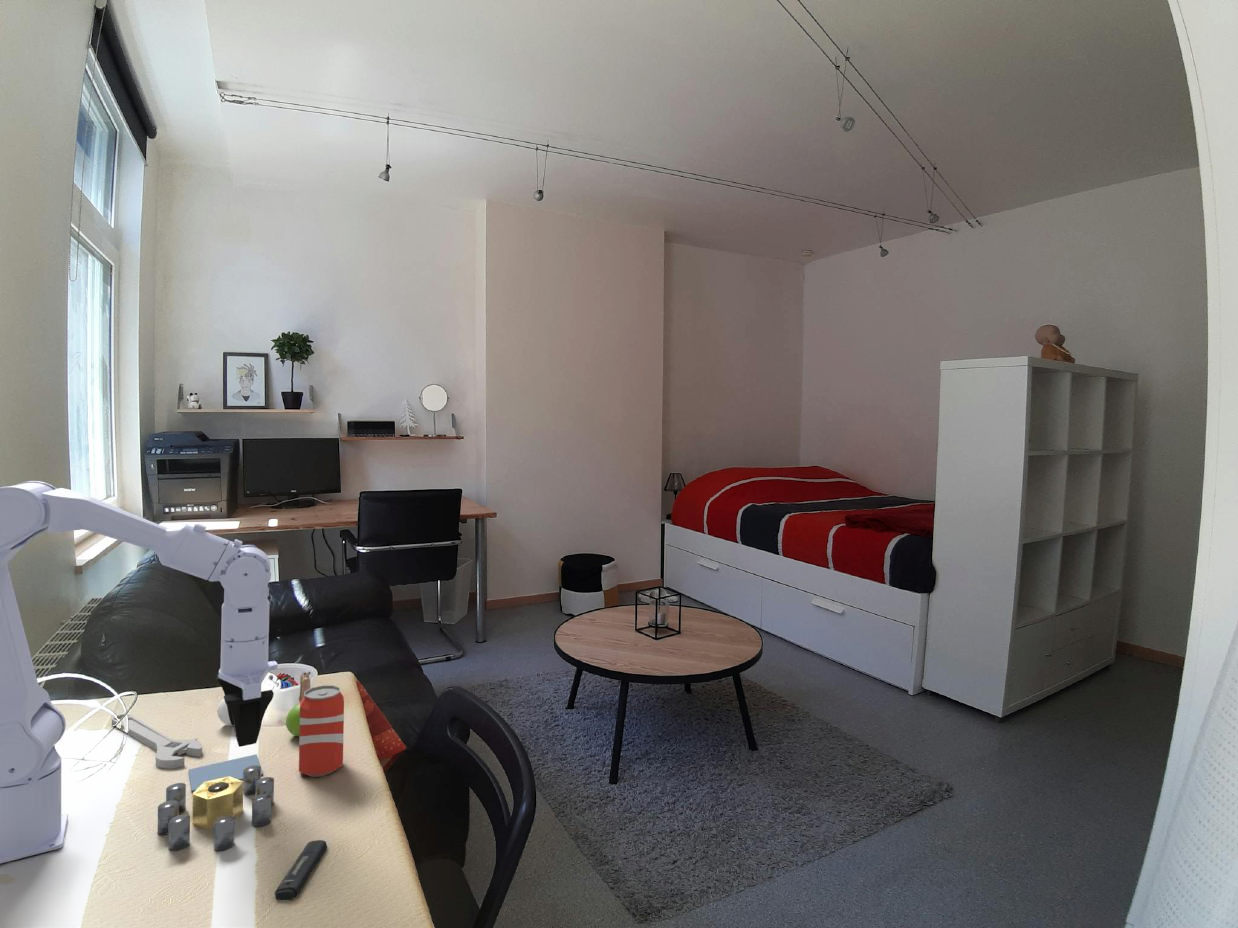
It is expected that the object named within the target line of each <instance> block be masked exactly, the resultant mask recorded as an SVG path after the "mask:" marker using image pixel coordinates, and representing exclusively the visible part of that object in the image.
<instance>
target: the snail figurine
mask: <svg viewBox="0 0 1238 928" xmlns="http://www.w3.org/2000/svg"><path fill="white" fill-rule="evenodd" d="M311 673H312V672H311V671H307V672H306V671H304V672H302V674H301V675H300V679H299V680H300V681H299V683H300V685H299V687H300V689H299V698H298V701H299V703H298V704H296V705H294V706H293V707H292V708H291V709H290V710H289V712H288V713H287V715H286V719H285V727H286V729H287V731H288V732H289V733H290V734H291V735H293V736H295V737H299V733H300V702H301V700H302V699H303V697H304V692H305V691H307V690H309V689H310V688H311V679H310V675H311Z"/></svg>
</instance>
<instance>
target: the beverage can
mask: <svg viewBox="0 0 1238 928" xmlns="http://www.w3.org/2000/svg"><path fill="white" fill-rule="evenodd" d="M299 704H300V733H299V736H298V737H299V740H298V743H299V745H298V747H299V748H298V750H299V751H298V772H301V773H302V774H305V775H306V776H309V777H324V776H326V775H329V774H332V773H333V772H335V771H337V769H339V768H340V767H341V766H342V765H344V724H345V723H344V721H345V720H344V719H345V718H344V717H345V697H344V695H343V694H342V692H341V687H339V686H336V685H329V684H328V685H318V686H314V687H310V689H309V690H307V691H305V692H304V697H303V699H302V700H301V702H299Z"/></svg>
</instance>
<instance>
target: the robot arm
mask: <svg viewBox="0 0 1238 928" xmlns="http://www.w3.org/2000/svg"><path fill="white" fill-rule="evenodd" d="M206 529H207V527H206V526H205V525H204V524H200V523H196V524H194V526H192V525H189V524H187V523H186V524H183V523H182V524H180V525H177V526H174V527H172V528H171V527H170V528H169V527H166V526H163V525H161V524H159V523H157V522H153V521H151V520H148V519H145V518H143V517H141V516H140V515H136V514H133V513H132V512H129V511H126V510H124V509H122V508H119V507H116V506H115V505H111V504H109V503H107V502H105V501H101V500H99V499H97V498H94V497H92V496H90V495H87V494H84V493H81V492H78V491H76V490H72V489H68V488H63V487H59V488H57V487H56V486H54V485H52V484H50V483H47V482H43V481H39V480H29V481H28V480H27V481H23V482H20V483H17V484H15V485H10V486H9V485H8V486H1V487H0V864H3V863H8V862H11V861H15V860H19V859H24V858H27V857H31V856H35V855H39V854H42V853H46V852H50V851H53V850H57V849H60V848H62V847H63V845H64V842H65V841H64V840H65V835H66V829H67V824H68V823H67V822H68V818H69V817H68V816H69V814H66V813H62V757H61V756H60V754H59V753H58V751H57V749H56V748H55V747H56V744H58V742H59V741H60V740H61V739H62V737H63V736H64V734H65V730H66V726H67V724H66V723H67V722H66V718H65V716H64V714H63V713H62V712H61V711H60V710H59V709H58V708H57V707H55V706H54V704H53V703H52V701H51V699H50V696H49V692H48V691H47V690H46V689H44V688H43V687H42V686H41V685H40V684H39V682H38V678H37V674H36V670H35V667H34V666H35V665H34V663H33V659H32V656H31V651H30V647H29V643H28V639H27V636H26V632H25V628H24V624H23V621H22V616H21V613H20V609H19V605H18V601H17V598H16V593H15V590H14V587H13V581H12V579H11V574H10V570H9V567H8V564H9V562H10V561H11V560H12V559H13V558H14V557H15V556H16V555H17V554H18V552H20V551H21V550H22V548H24V547H25V545H26V544H27V543H28V542H29V541H30V540H31V539H33V538H34V537H36V536H37V535H40V534H41V533H43V532H45V531H46V530H47V534H55V533H64V532H65V533H66V532H72V531H79V530H81V531H82V530H84V531H88V532H91V533H94V534H98V535H101V536H105V537H108V538H111V539H115V540H117V541H121V542H123V543H128V544H130V545H133V546H137V547H140V548H143V549H146V550H150V551H153V552H155V554H156V555H157V557H158V559H159V562H160V564H161V565H162V566H165V567H169V568H171V569H174V570H177V571H180V572H181V573H185V574H188V575H192V576H194V577H197V578H201V579H203V580H205V581H207V580H208V581H209V582H212V583H213V582H220V584H221V586H222V588H223V591H224V593H223V603H222V605H221V622H220V623H221V626H220V627H221V629H220V631H221V632H220V633H221V634H220V637H221V638H220V668H219V670H218V674H217V675H216V681H217V682H218V683H219V685H220V687H221V689H222V691H223V694H224V695H223V698H224V700H225V703H226V705H227V709H228V714H229V719H230V722H231V725H234V732H235V739H236V743H237V745H238V747H239V748H240V747H245V746H249V745H254V744H255V745H256V744H257V742H258V740H259V739H258V738H259V735H260V731H261V727H262V723H263V720H264V717H265V713H266V711H267V708H268V707H269V705H270V703H271V702H272V700H273V698H274V694H275V693H274V691H273V690H272V689H268V690H262V683H263V682H264V680H265V678H266V677H267V675H268V674H269V672H271V671H275V670H277V669H278V665H279V664H278V662H277V661H275V660H272V661H271V660H270V661H269V640H270V639H269V635H270V634H269V633H270V600H269V599H268V597H269V595H270V588H269V586H268V585H269V583H270V580H271V577H272V572H271V561H270V558H269V556H268V555H267V553H266V552H264V551H263V550H262V549H260V548H258V547H257V546H256V545H255V544H243V541H242V540H239V539H234V541H233V540H232V541H231V540H229V539H227V538H224V537H221V536H217V534H216V535H215V534H213V533H210V532H208V531H205V530H206ZM231 725H230V726H231Z"/></svg>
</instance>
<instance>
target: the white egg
mask: <svg viewBox="0 0 1238 928" xmlns="http://www.w3.org/2000/svg"><path fill="white" fill-rule="evenodd" d="M217 706H218V707H217V709H216V711H217V718H219V720H220V721H221V723H222V724H224V725H227V726H234V725H231V722H230V719H229V714H228V709H227V705H226V703H225V700H224V697H223V698H222V699H221V700H220V702H219V703H218V705H217Z"/></svg>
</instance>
